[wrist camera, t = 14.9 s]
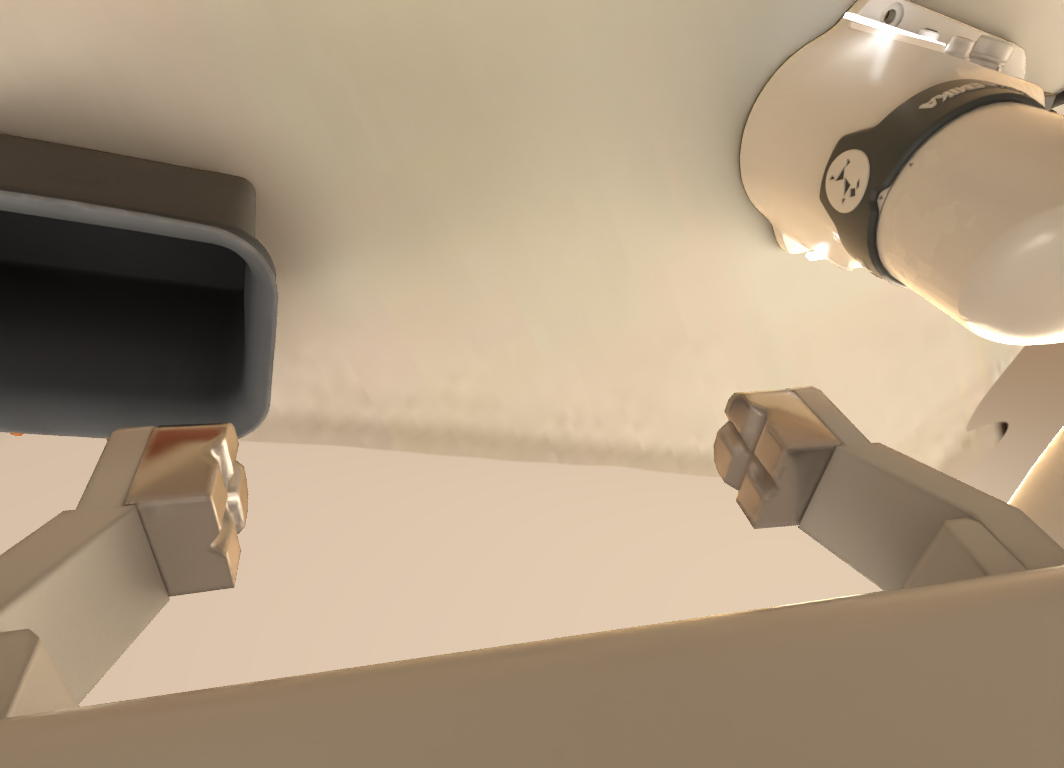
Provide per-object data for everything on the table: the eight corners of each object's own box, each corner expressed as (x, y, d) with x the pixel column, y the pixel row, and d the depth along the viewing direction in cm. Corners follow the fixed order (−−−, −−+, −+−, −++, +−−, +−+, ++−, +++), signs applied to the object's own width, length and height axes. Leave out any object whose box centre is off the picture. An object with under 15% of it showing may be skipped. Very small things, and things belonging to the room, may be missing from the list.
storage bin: (301, 148, 42) (281, 237, 31) (285, 348, 50) (265, 476, 39) (-115, 63, 35) (-335, 139, 24) (-55, 311, 43) (-198, 455, 32)
